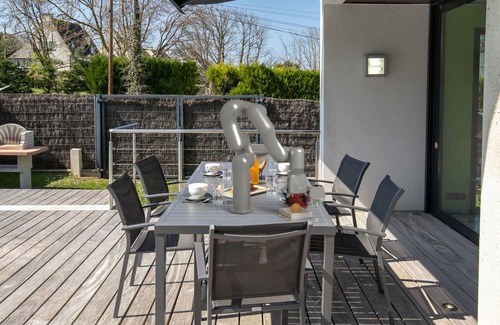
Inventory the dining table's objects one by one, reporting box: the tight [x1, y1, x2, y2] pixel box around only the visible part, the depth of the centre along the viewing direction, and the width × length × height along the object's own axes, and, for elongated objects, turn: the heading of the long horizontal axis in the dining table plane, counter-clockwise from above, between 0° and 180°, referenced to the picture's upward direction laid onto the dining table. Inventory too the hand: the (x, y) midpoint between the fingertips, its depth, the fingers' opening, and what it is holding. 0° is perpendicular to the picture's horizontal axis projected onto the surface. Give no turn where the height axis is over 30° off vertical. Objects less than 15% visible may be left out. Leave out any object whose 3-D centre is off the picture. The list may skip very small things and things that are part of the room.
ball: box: [290, 203, 302, 213], centre depth 256 cm, size 6×6×6 cm
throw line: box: [273, 212, 294, 223], centre depth 253 cm, size 20×2×1 cm, turn 22°
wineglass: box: [309, 184, 326, 223], centre depth 245 cm, size 8×8×18 cm
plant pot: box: [287, 192, 310, 209], centre depth 275 cm, size 13×13×12 cm
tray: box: [278, 206, 313, 221], centre depth 257 cm, size 14×12×3 cm
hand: (295, 203), depth 256 cm, fingers open, 9 cm apart
